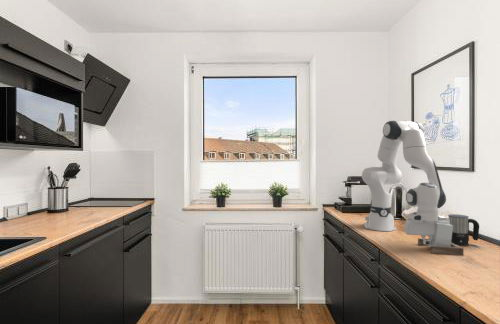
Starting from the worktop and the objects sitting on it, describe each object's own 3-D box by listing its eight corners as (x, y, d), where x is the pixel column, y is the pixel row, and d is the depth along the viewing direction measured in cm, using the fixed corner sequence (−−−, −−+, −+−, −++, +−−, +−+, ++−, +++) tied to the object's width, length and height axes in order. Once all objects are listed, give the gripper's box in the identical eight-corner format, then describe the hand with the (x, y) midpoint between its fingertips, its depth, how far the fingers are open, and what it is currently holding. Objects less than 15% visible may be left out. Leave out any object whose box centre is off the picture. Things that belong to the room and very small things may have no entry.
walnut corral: (417, 244, 161) (418, 238, 161) (445, 245, 160) (445, 239, 160) (432, 253, 145) (432, 247, 145) (463, 254, 144) (463, 248, 144)
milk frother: (455, 245, 160) (455, 217, 160) (436, 238, 176) (436, 211, 176) (482, 246, 160) (483, 217, 160) (460, 238, 176) (461, 212, 176)
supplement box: (450, 251, 149) (453, 225, 148) (434, 249, 149) (437, 223, 149) (442, 247, 156) (445, 222, 156) (427, 245, 157) (430, 220, 156)
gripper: (446, 215, 155) (446, 243, 155) (403, 214, 157) (403, 241, 157) (453, 218, 149) (452, 247, 149) (408, 216, 151) (407, 245, 151)
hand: (426, 244), depth 153 cm, fingers closed
